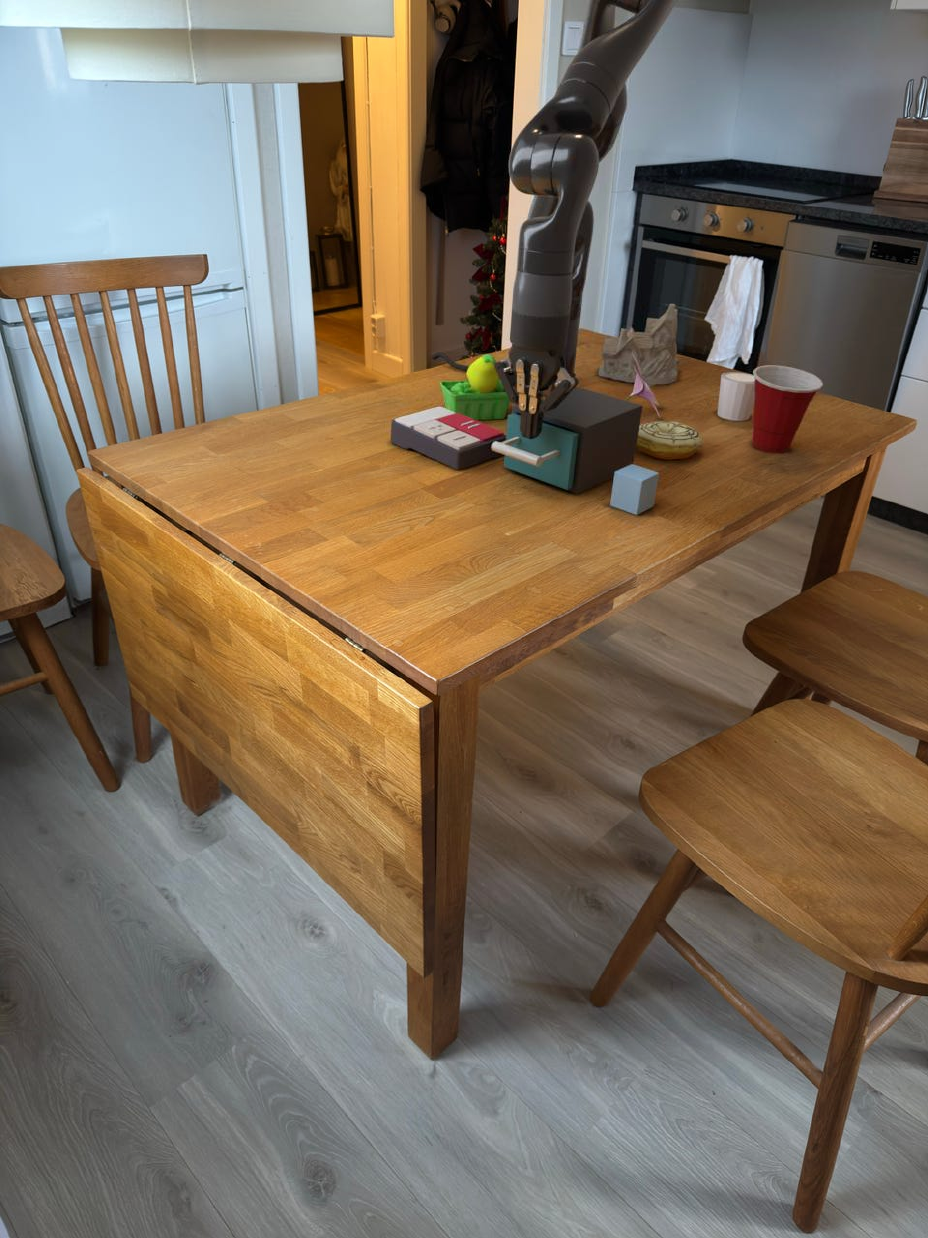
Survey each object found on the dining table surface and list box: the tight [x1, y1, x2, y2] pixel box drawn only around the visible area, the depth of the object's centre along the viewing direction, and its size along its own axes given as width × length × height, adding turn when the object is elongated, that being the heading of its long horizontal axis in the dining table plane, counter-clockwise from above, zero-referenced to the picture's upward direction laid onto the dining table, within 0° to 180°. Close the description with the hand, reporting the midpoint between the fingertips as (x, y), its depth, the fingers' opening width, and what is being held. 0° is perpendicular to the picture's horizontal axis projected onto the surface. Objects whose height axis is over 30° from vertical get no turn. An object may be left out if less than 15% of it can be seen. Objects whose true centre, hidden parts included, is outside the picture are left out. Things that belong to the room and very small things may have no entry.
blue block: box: [609, 463, 660, 516], centre depth 123 cm, size 4×4×5 cm
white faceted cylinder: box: [717, 371, 755, 422], centre depth 159 cm, size 7×7×7 cm
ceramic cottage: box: [598, 303, 680, 386], centre depth 178 cm, size 16×16×15 cm
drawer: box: [492, 412, 580, 491], centre depth 130 cm, size 19×12×8 cm, turn 138°
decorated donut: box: [636, 420, 704, 461], centre depth 143 cm, size 10×11×4 cm
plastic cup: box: [752, 364, 824, 453], centre depth 145 cm, size 11×11×12 cm
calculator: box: [390, 406, 506, 471], centre depth 139 cm, size 11×4×15 cm
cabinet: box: [507, 386, 643, 495], centre depth 133 cm, size 15×13×10 cm
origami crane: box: [624, 353, 661, 418], centre depth 158 cm, size 12×12×10 cm
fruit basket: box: [439, 353, 511, 421], centre depth 151 cm, size 11×9×11 cm
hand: (529, 436), depth 124 cm, fingers closed
